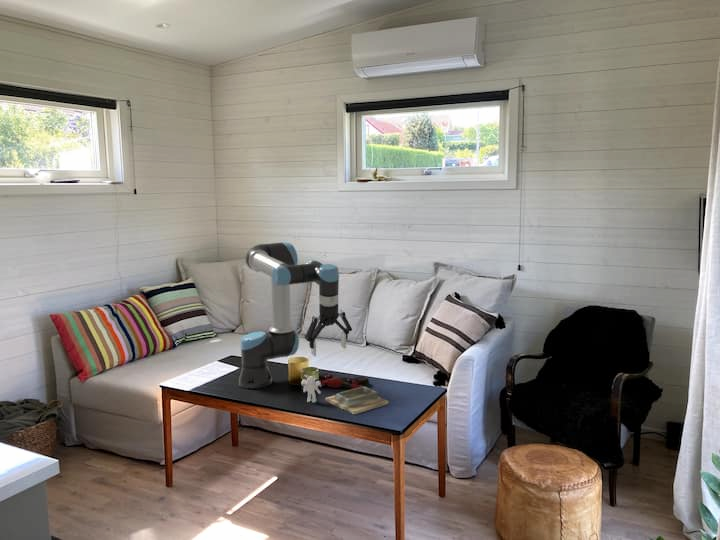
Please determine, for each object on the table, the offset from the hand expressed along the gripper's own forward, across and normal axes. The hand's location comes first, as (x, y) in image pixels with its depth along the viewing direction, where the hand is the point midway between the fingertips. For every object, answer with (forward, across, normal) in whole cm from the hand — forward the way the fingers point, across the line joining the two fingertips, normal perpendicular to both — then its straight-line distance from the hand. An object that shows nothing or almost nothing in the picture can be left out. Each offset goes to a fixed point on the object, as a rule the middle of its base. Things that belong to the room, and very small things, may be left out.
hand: (328, 350), depth 241 cm
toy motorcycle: (+29, +13, +14) cm, 35 cm away
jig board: (+24, +10, -7) cm, 26 cm away
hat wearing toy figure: (+25, -6, +4) cm, 26 cm away
